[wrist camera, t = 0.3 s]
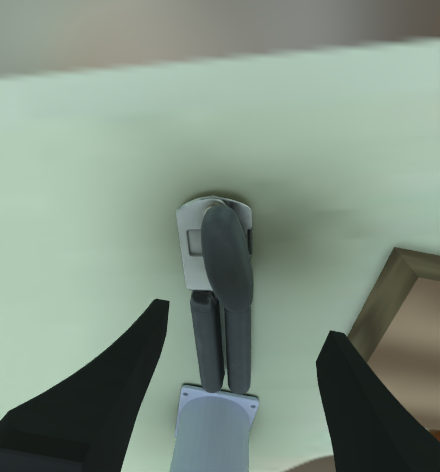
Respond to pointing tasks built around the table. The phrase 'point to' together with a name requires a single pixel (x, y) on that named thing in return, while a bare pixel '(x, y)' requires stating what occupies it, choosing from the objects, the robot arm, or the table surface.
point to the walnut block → (405, 332)
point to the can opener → (219, 286)
